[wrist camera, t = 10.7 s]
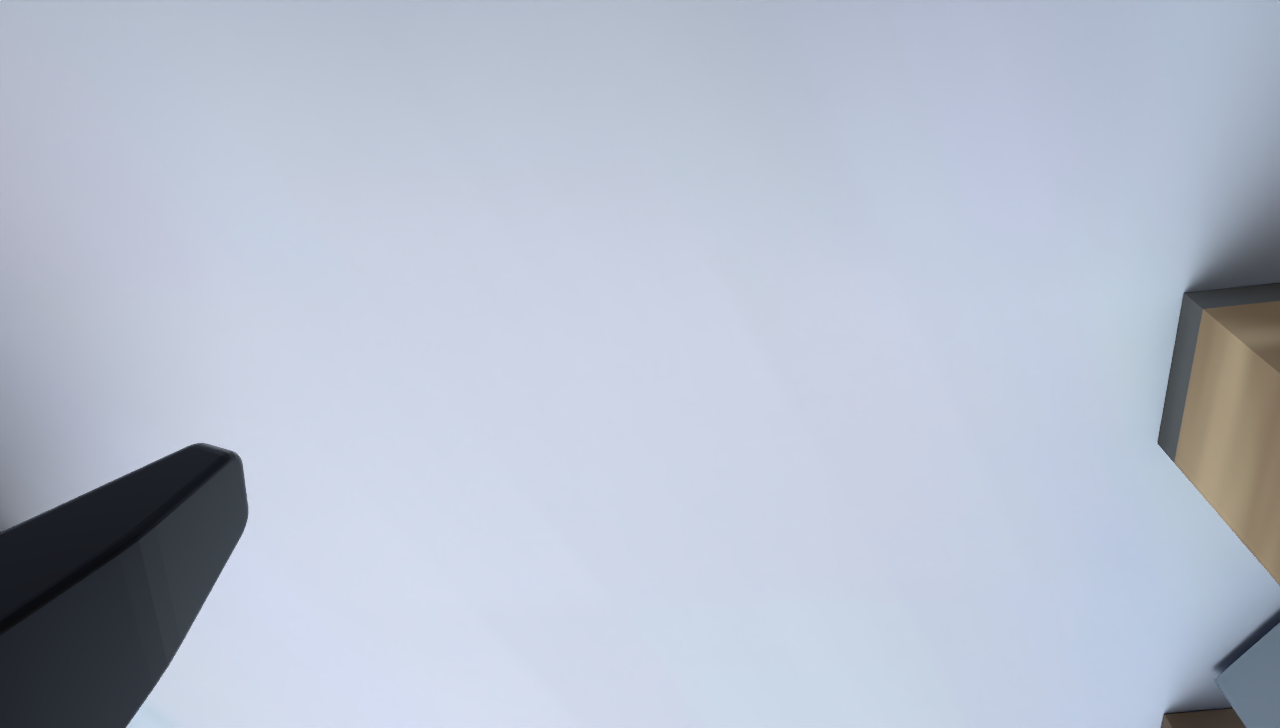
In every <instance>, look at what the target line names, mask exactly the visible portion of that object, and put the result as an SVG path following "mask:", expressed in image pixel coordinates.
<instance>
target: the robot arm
mask: <svg viewBox="0 0 1280 728" xmlns="http://www.w3.org/2000/svg"><path fill="white" fill-rule="evenodd" d="M247 519H248V502H247V494H246V487H245V479H244V471H243V464H242V460H241V458H240V457H239V456H238V454H237V453H235V452H233V451H230V450H227V449H223V448H220V447H216V446H213V445H209V444H205V443H197V444H193V445H190V446H187V447H185V448H183V449H181V450H179V451H177V452H174V453H172V454H170V455H168V456H166V457H164V458H161V459H159V460H157V461H155V462H153V463H151V464H148V465H146V466H144V467H142V468H140V469H137V470H135V471H133V472H131V473H129V474H127V475H124V476H122V477H120V478H118V479H116V480H114V481H111V482H109V483H107V484H105V485H103V486H101V487H98V488H96V489H94V490H92V491H90V492H88V493H85V494H83V495H81V496H79V497H77V498H74V499H72V500H70V501H68V502H66V503H64V504H61V505H59V506H57V507H55V508H53V509H51V510H48V511H46V512H44V513H42V514H40V515H38V516H35V517H33V518H31V519H29V520H27V521H25V522H22V523H20V524H18V525H16V526H14V527H11V528H9V529H7V530H5V531H3V532H1V533H0V728H126V727H127V725H128V724H129V723H130V721H131V720H132V718H133V717H134V715H135V714H136V713H137V711H138V710H139V708H140V707H141V705H142V704H143V703H144V701H145V700H146V698H147V697H148V695H149V694H150V693H151V691H152V690H153V688H154V687H155V685H156V684H157V682H158V681H159V679H160V678H161V676H162V675H163V673H164V672H165V670H166V669H167V667H168V666H169V664H170V663H171V661H172V659H173V657H174V656H175V654H176V652H177V651H178V649H179V647H180V646H181V644H182V642H183V640H184V638H185V637H186V635H187V633H188V631H189V629H190V628H191V626H192V624H193V622H194V620H195V619H196V617H197V615H198V613H199V611H200V610H201V608H202V606H203V604H204V602H205V601H206V599H207V597H208V595H209V593H210V592H211V590H212V588H213V586H214V584H215V582H216V581H217V579H218V577H219V575H220V573H221V572H222V570H223V568H224V566H225V564H226V563H227V561H228V559H229V557H230V555H231V554H232V552H233V550H234V548H235V546H236V545H237V543H238V541H239V539H240V537H241V535H242V533H243V531H244V529H245V526H246V523H247Z"/></svg>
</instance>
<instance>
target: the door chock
mask: <svg viewBox="0 0 1280 728" xmlns="http://www.w3.org/2000/svg"><path fill="white" fill-rule="evenodd" d="M1158 444H1159V446H1160V447H1161V448H1162V449H1163V450H1164V451H1165V453H1166V454H1167V455H1168V456H1169V457H1170V458H1171V460H1172V461H1173V462H1174V463H1175V464H1176V465H1177V467H1178V468H1179V469H1180V470H1181V471H1182V472H1183V474H1184V475H1185V476H1186V477H1187V478H1188V479H1189V481H1190V482H1191V483H1192V484H1193V485H1194V486H1195V488H1196V489H1197V490H1198V491H1199V492H1200V493H1201V494H1202V496H1203V497H1204V498H1205V499H1206V500H1207V501H1208V503H1209V504H1210V505H1211V506H1212V507H1213V508H1214V510H1215V511H1216V512H1217V513H1218V514H1219V515H1220V517H1221V518H1222V519H1223V520H1224V521H1225V522H1226V524H1227V525H1228V526H1229V527H1230V528H1231V529H1232V531H1233V532H1234V533H1235V534H1236V535H1237V536H1238V538H1239V539H1240V540H1241V541H1242V542H1243V543H1244V544H1245V546H1246V547H1247V548H1248V549H1249V550H1250V551H1251V553H1252V554H1253V555H1254V556H1255V557H1256V558H1257V560H1258V561H1259V562H1260V563H1261V564H1262V565H1263V567H1264V568H1265V569H1266V570H1267V571H1268V572H1269V574H1270V575H1271V576H1272V577H1273V578H1274V579H1275V581H1276V582H1277V583H1278V584H1279V585H1280V283H1273V284H1263V285H1254V286H1245V287H1236V288H1227V289H1217V290H1208V291H1199V292H1190V293H1184V296H1183V301H1182V307H1181V313H1180V319H1179V324H1178V330H1177V336H1176V341H1175V347H1174V353H1173V359H1172V364H1171V370H1170V376H1169V381H1168V387H1167V393H1166V399H1165V404H1164V410H1163V416H1162V421H1161V427H1160V433H1159V439H1158Z"/></svg>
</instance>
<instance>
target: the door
mask: <svg viewBox="0 0 1280 728" xmlns="http://www.w3.org/2000/svg"><path fill="white" fill-rule="evenodd" d="M1214 681H1215V683H1216V684H1217V685H1218V687H1219V688H1220V690H1221V691H1222V693H1223V694H1224V696H1225V697H1226V699H1227V700H1228V701H1229V703H1230V704H1231V706H1232V707H1233V709H1234V710H1235V712H1236V713H1237V715H1238V716H1239V717H1240V719H1241V720H1242V722H1243V723H1244V725H1245V726H1246V728H1280V623H1278V624H1277V625H1276V626H1275V627H1274V628H1273V629H1272V630H1270V631H1269V632H1268V633H1267V634H1266V635H1265V636H1264V637H1262V638H1261V639H1260V640H1259V641H1258V642H1257V643H1256V644H1254V645H1253V646H1252V647H1251V648H1250V649H1249V650H1248V651H1246V652H1245V653H1244V654H1243V655H1242V656H1241V657H1240V658H1238V659H1237V660H1236V661H1235V662H1234V663H1233V664H1232V665H1230V666H1229V667H1228V668H1227V669H1226V670H1225V671H1224V672H1222V673H1221V674H1220V675H1219V676H1218V677H1217V678H1215V679H1214Z"/></svg>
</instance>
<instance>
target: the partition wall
mask: <svg viewBox="0 0 1280 728" xmlns="http://www.w3.org/2000/svg"><path fill="white" fill-rule="evenodd" d="M1162 728H1246V726H1245V725H1244V723H1243V722H1242V720H1241V719H1240V717H1239V716H1238V715H1237V713H1236V712H1235V710H1234V709H1233V708H1230V709H1219V710H1208V711H1197V712H1186V713H1175V714H1164V718H1163V723H1162Z"/></svg>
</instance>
